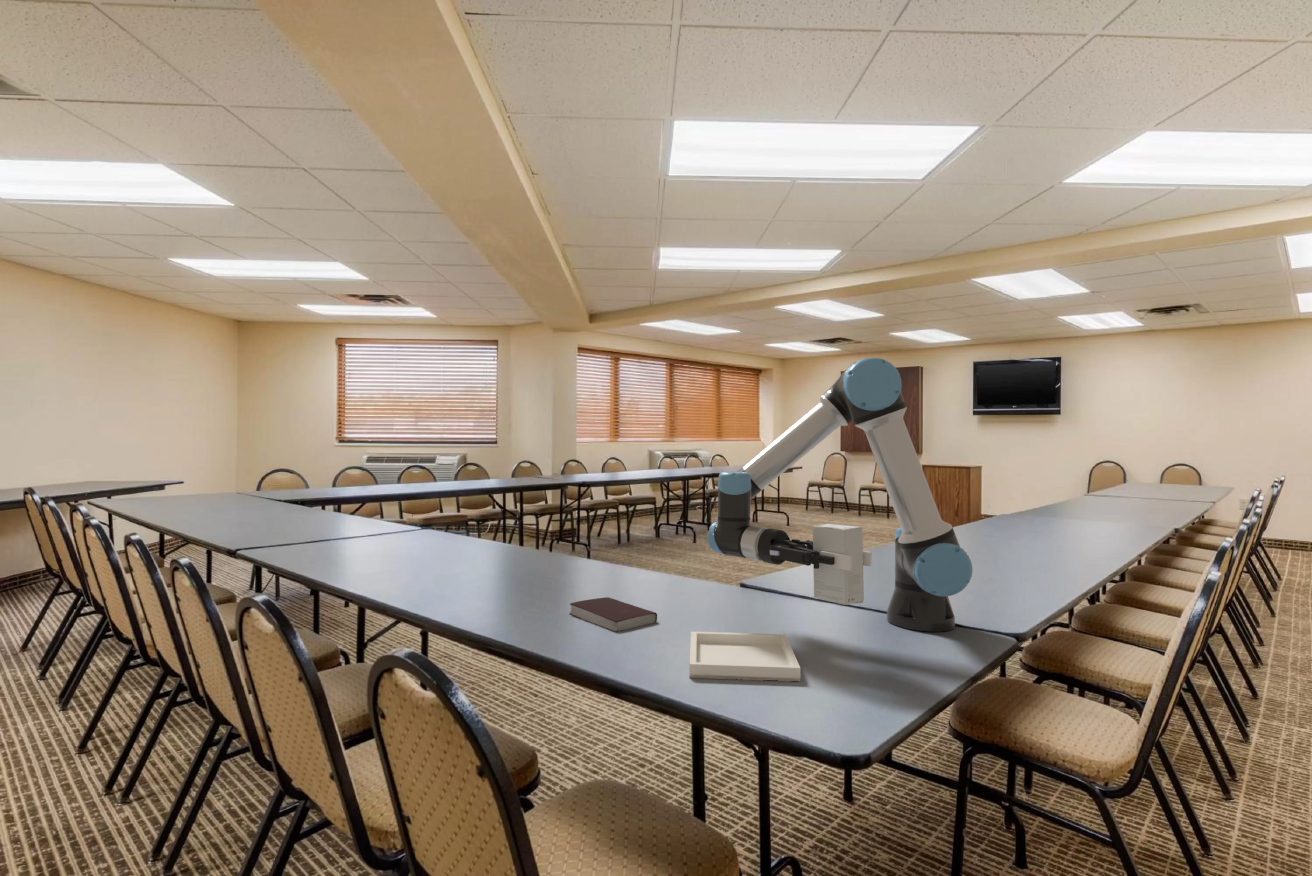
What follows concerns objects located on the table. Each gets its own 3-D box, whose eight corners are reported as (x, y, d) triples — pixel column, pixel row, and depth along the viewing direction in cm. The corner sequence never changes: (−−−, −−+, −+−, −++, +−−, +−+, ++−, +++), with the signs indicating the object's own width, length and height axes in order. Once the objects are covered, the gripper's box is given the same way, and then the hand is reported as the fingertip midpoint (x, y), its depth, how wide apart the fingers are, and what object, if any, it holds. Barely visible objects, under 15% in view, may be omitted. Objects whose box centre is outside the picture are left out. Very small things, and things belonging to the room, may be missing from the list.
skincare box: (864, 603, 124) (866, 527, 124) (844, 606, 121) (846, 528, 121) (829, 594, 131) (831, 522, 131) (810, 597, 128) (812, 523, 128)
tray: (785, 646, 134) (785, 634, 134) (800, 681, 115) (800, 668, 115) (690, 643, 136) (691, 631, 136) (689, 677, 116) (689, 664, 116)
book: (609, 607, 166) (609, 595, 166) (657, 624, 152) (657, 610, 152) (568, 616, 158) (568, 603, 158) (615, 634, 143) (616, 619, 143)
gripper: (793, 557, 146) (886, 574, 128) (737, 567, 133) (832, 587, 116) (793, 524, 146) (886, 537, 128) (737, 531, 133) (832, 546, 116)
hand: (860, 561), depth 122 cm, fingers closed on skincare box, 6 cm apart
